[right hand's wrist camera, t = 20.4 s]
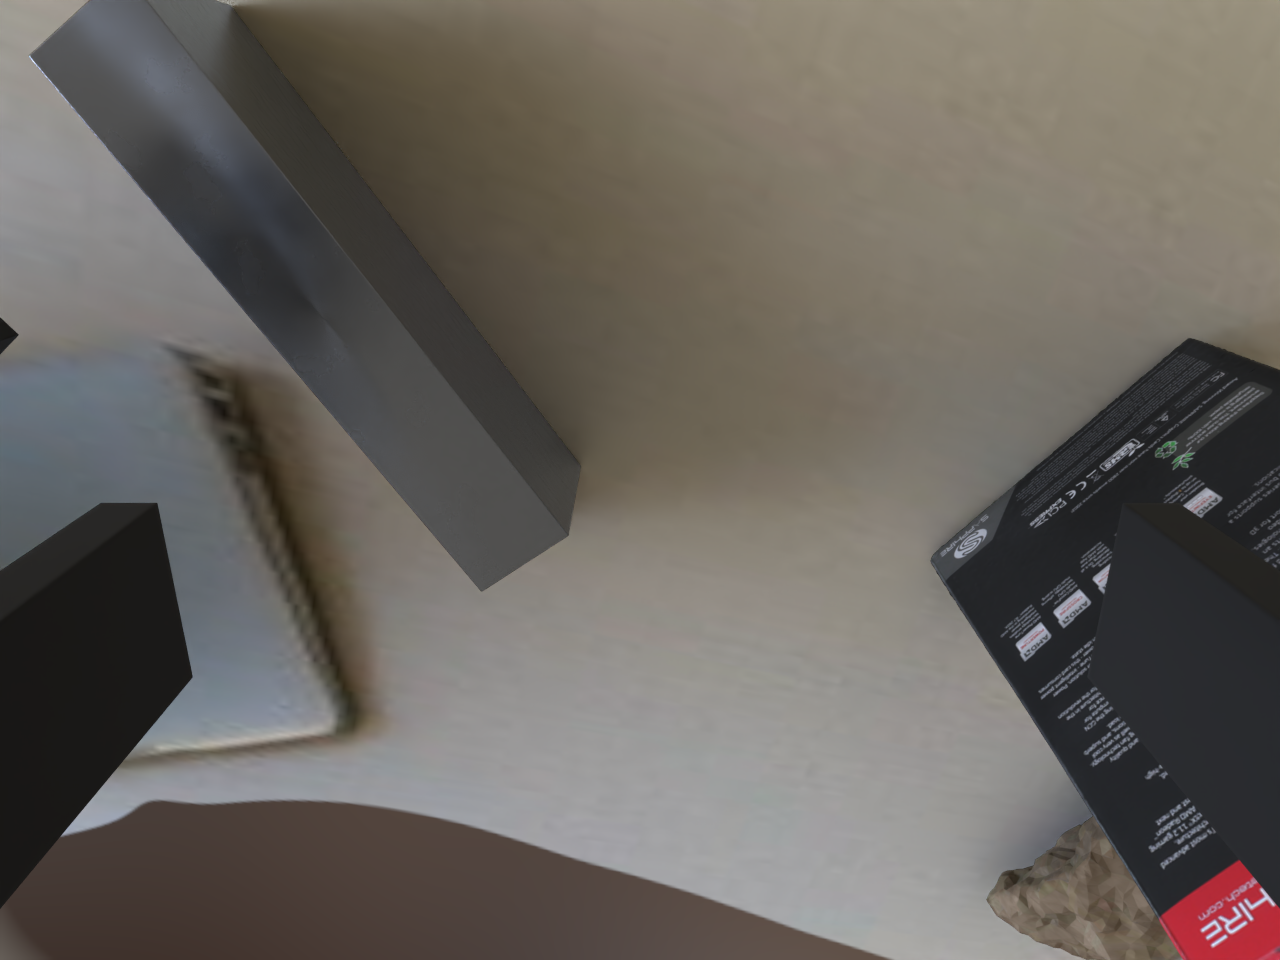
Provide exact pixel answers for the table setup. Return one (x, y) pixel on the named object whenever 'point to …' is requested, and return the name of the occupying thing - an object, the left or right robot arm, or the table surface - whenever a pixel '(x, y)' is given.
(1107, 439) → the graphics card box
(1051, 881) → the stone
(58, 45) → the bar
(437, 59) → the table surface
